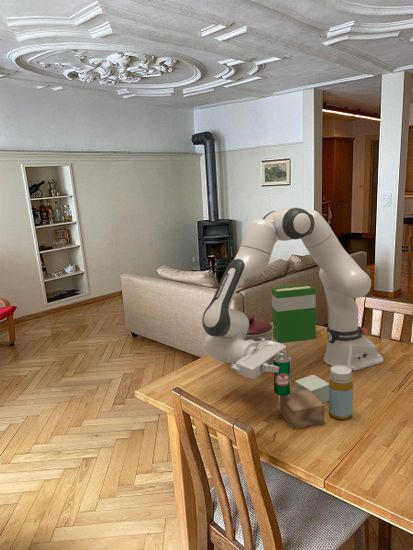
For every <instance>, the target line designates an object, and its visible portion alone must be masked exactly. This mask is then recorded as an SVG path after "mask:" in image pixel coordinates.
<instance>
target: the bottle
mask: <svg viewBox="0 0 413 550" xmlns="http://www.w3.org/2000/svg"><path fill="white" fill-rule="evenodd" d="M329 369H330V371H329V372H330V373H329V374H330V375H329V381H328V383H329V401H328V413H329V415H330V416H331V417H333V418H335V419H337V420H348V419H350V418H351V417H352V416H353V403H354V402H353V401H354V400H353V399H354V384H353V383H354V382H353V381H352V380H353V372H352V371H353V370H351V368H349V367H347V366H344V365H335V366H331V367H330V368H329Z"/></svg>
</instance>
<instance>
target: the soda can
mask: <svg viewBox="0 0 413 550" xmlns="http://www.w3.org/2000/svg"><path fill="white" fill-rule="evenodd" d="M289 357H290V355H288V353H287V354H276V355H275V358H274V359H273V365H275V364H276V365H279V366H280V367H281V368H280V369H281V370H280V371H279V372H278V373H276V372H273V392H274V393H275V394H276V395H277V396H279V397H280V396H286V395H288V394H289V393H291V392H292V390H291V385H292V383H291V363H290V358H291V357H290V358H289Z"/></svg>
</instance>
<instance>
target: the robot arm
mask: <svg viewBox="0 0 413 550" xmlns="http://www.w3.org/2000/svg"><path fill="white" fill-rule="evenodd" d="M291 240H301V241H302V243H303V245H304V247H305V248H306V250H307V252H308V253H309V255H310V256H311V258H312V259H313V261H314V263H315V264H316V265H317V266H319V271H318V277H319V279H320V281H321V283H322V286H323V291H324V294H325V299H326V304H327V319H328V320H327V322H328V323H327V327H326V340H327V341H326V342H327V343H326V350H325V354H324V356H323V361H324V362H325V363H326V364H327V365H329V366H331V367H332V366H335V365H344V366H347V367H349V368H351V370H352V371H354V372H355V371H359V370H362V369H366V368H369V367H373V366H376V365H378V364H382V363H384V357H383V356H382V355H381V354H380V353H378V350H377V346H376V345H375V343H374V342H373V341H372V340H370V339H368V338H367V337H366V336H364V335H367V334H368V329H366V328H365V327H361V326H359V307H358V304H357V303H356V300H355V299H361V298H363V297H366V295H367V294H368V293H369V292H370V291H371V287H372V280H371V278H370V276H369V275H368V273H366V272H365V271H364V270H363V269H362V268H361V267H360V265H358V264H357V263H358V262H356V261H355V259H354V258H353V257H352V256H351V254H349V253H348V252H347V251H346V250H345V248H344V247H343V245H342V244H341V242H340V241H339V239H338V237H337V236H336V234H335V233H334V231H333V230H332V227H331V226H330V224H329V223H328V221H327V220H326V219H325V218H324V216H322V215H321V214H320V212H318V211H317V210H314V209H307V210H306V209H303V208H300V207H291V208H290V207H289V208H281V209H278V210H272V211H270V212H268V213H267V214H265V215H264V216H263V217H262V218H257V219H254V220H252V221H250V222H249V225H248V227H247V228H246V231H245V232H244V234H243V236H242V239H241V242H240V245H239V248H238V251H237V253H236V255H235V256H234V259H233V260H232V261H230V262H229V264H228V265H227V267H226V269H225V271H224V273H223V275H222V277H221V279H220V282H219V284H218V286H217V288H216V290H215V293H214V294H213V297H212V299H211V301H210V303H209V304H208V306H207V307H206V308H205V310H204V312H203V314H202V319H201V323H202V324H201V325H202V327H203V330H204V331H205V333H206V335H207V336H206V337H205V340H204V345H203V346H204V348H203V349H204V351H205V353H206V355H208V357H210V358H211V359H214V360H216V361H217V362H218V361H219V362H221V363H224V364H230V368H231V370H232V371H234V372H235V371H236V372H237V374H238V375H241V376H242V377H245V378H247V379H251V380H252V379H253V380H254V379H256V378H258V377H259V376H260V375H261V374H263V373H264V372H265V373H272V372H273V373H274V372H276V373H278V372H279V371H280V370H281V369H280V368H281V367H280V366H279V365H276V364H275V365H273V359H274V358H275V355H276V354H287V355H288V352H287V346H286V345H285V343H278V342H276V341H273V340H271V341H268V340H267V341H265V339H264V338H257V339H253V340H246V341H245V339H246V336H247V333H248V329H249V319H248V317H247V316H248V315H246V313H245V312H244V311H240V310H236V309H232V308H231V306H232V303H233V300H234V298H235V296H236V293H237V290H238V289H239V287H240V286H241V284H242V283H243V282H244V281H245V280H248V279H251V278H256V277H259V276H260V275H262V274H263V273H265V271H266V269H267V268H268V266H269V264H270V260H271V257H272V253H273V250H274V247H275V245H276V243H277V242H278V241H284V242H285V241H291ZM363 334H364V335H363ZM289 358H290V364H291V363H292V358H291V357H290V356H289Z"/></svg>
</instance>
